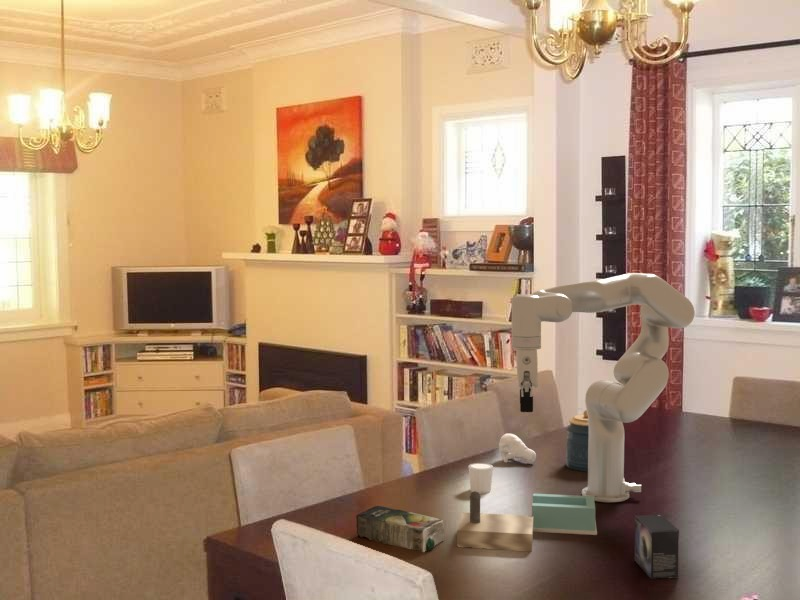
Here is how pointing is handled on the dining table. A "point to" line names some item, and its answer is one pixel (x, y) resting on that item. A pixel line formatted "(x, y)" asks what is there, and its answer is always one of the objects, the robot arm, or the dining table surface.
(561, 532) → the mat
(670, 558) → the small box
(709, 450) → the dining table surface
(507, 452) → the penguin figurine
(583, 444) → the canister
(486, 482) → the shot glass
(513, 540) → the stand
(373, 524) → the juice carton
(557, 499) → the c link
